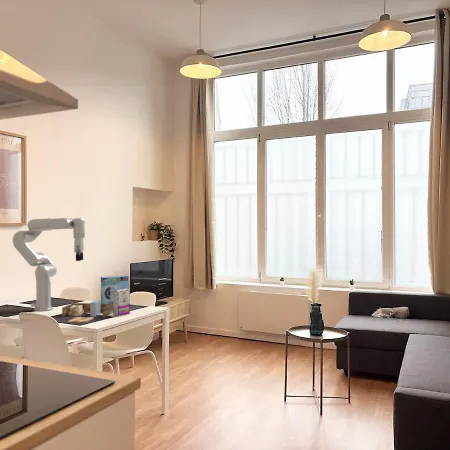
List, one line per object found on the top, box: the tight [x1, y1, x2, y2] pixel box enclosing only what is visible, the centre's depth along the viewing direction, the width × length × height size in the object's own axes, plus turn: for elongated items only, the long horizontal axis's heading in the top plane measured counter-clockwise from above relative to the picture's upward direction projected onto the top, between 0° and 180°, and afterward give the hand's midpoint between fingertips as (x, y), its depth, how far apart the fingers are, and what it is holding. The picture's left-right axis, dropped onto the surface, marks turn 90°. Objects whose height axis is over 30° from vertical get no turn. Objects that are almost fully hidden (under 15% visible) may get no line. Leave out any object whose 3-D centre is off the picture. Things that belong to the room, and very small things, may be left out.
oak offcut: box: [67, 310, 85, 317], centre depth 308 cm, size 7×9×3 cm
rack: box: [61, 302, 113, 318], centre depth 308 cm, size 28×18×6 cm, turn 86°
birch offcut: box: [70, 305, 83, 312], centre depth 309 cm, size 6×8×3 cm
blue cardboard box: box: [100, 274, 129, 304], centre depth 333 cm, size 20×5×23 cm, turn 123°
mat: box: [67, 316, 95, 323], centre depth 290 cm, size 12×13×1 cm
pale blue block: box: [89, 299, 102, 317], centre depth 307 cm, size 4×10×9 cm, turn 176°
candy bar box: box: [112, 288, 131, 317], centre depth 308 cm, size 11×5×16 cm, turn 148°
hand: (79, 260), depth 323 cm, fingers open, 9 cm apart
